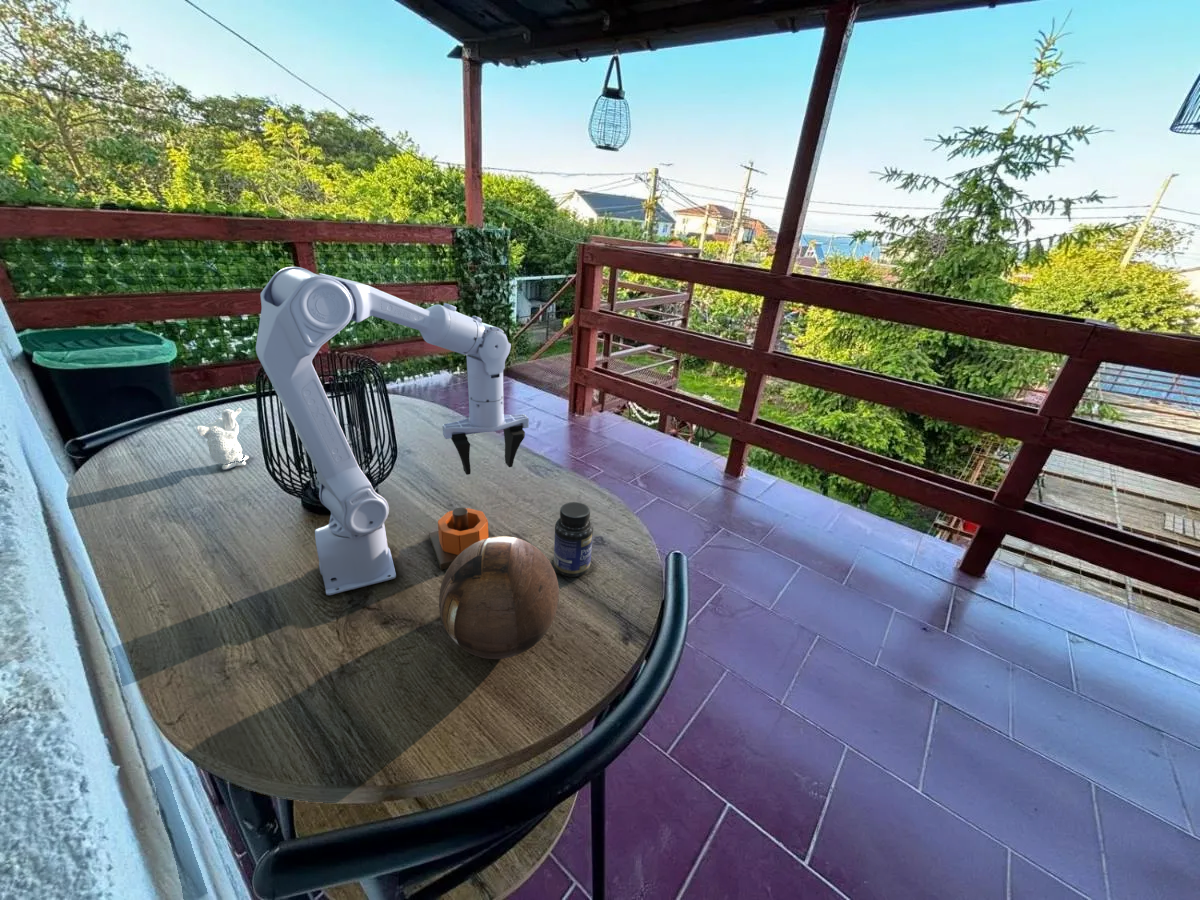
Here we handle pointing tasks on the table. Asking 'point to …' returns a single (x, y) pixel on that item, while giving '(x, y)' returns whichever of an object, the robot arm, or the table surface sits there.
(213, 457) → the white sheep figurine
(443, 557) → the peg stand
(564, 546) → the pill bottle
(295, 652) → the table surface
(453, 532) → the ring
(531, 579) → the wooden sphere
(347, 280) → the robot arm
